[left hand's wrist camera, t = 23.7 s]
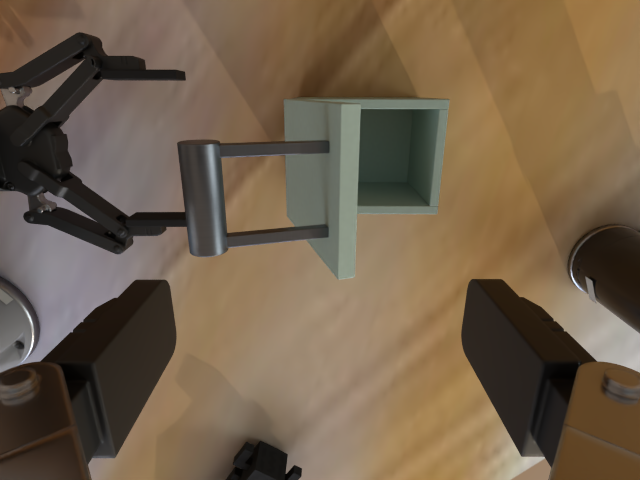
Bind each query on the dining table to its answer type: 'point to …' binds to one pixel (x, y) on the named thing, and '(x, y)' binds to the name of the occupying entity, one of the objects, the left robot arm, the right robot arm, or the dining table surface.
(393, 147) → the chest
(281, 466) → the toy
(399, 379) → the dining table surface
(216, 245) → the lid
